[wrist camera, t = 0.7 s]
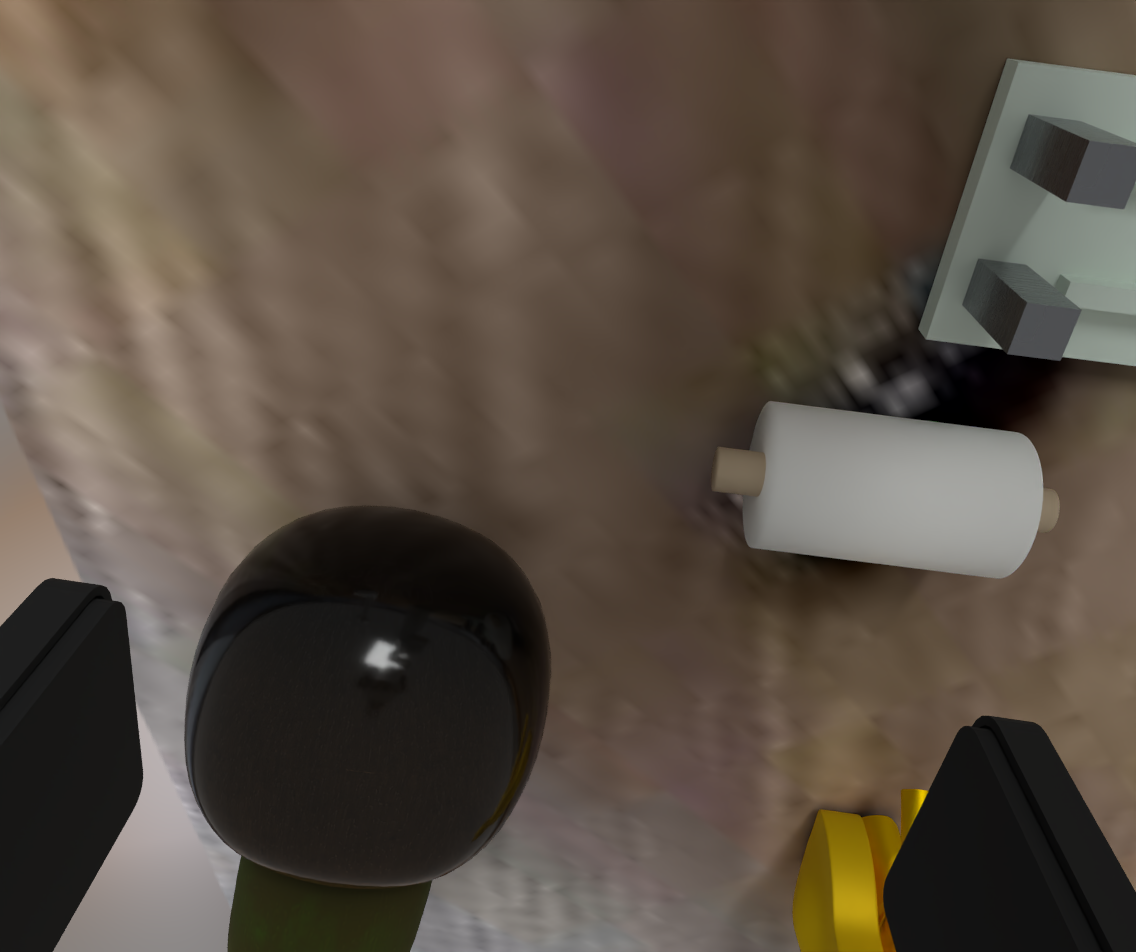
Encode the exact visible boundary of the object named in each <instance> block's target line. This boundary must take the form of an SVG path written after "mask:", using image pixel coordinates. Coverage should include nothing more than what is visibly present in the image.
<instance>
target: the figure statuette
mask: <svg viewBox="0 0 1136 952" xmlns="http://www.w3.org/2000/svg"><path fill="white" fill-rule="evenodd" d="M927 793H928V791H926V790H920V789H902V790H901V836H900V833H899V830H898V827H897V825H896V823H895V822H894V821H893V820H892V819H891V818H890V817H887V816H883V815H871V816H866V817H861V816H860V815H858V814H851V813H844V812H837V811H830V810H823V809H820V810H818V813H817V816H816V820H815V823H814V826H813V829H812V832H811V834H810V837H809V840H808V843H807V846H806V850H805V853H804V856H803V860H802V864H801V867H800V871H799V875H798V879H797V883H796V887H795V892H794V899H793V911H792V913H793V924H794V929H795V933H796V937H797V940H798V943H799V947H800V951H801V952H896V949H895V946H894V942H893V939H892V936H891V932H890V929H889V925H888V922H887V918H886V915H885V910H884V904H883V888H884V883H885V879H886V877H887V874H888V872H889V870H890V868H891V866H892V864H893V862H894V860H895V858H896V856H897V854H898V852H899V850H900V848H901V846H902V844H903V842H904V840H905V838H906V836H907V834H908V832H909V830H910V828H911V826H912V824H913V822H914V820H915V818H916V816H917V814H918V812H919V810H920V807H921V805H922V803H923V801H924V799H925V797H926V795H927Z"/></svg>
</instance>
